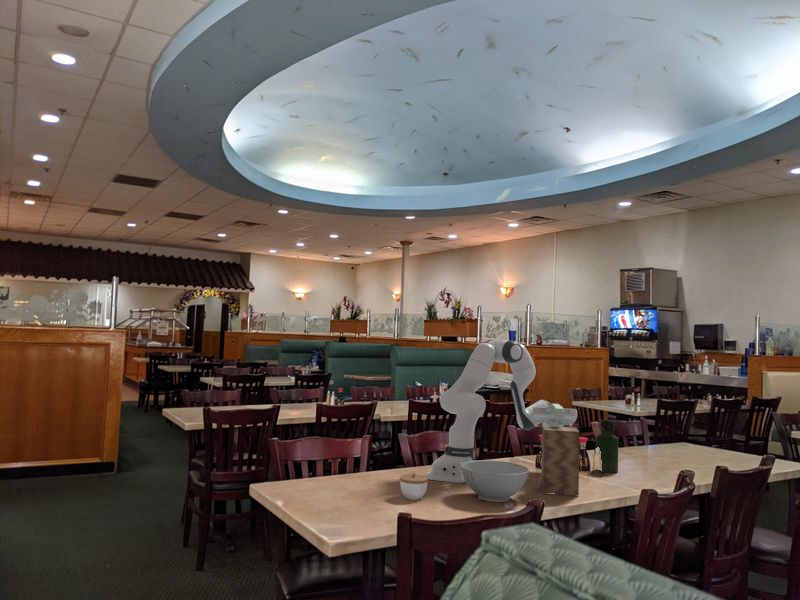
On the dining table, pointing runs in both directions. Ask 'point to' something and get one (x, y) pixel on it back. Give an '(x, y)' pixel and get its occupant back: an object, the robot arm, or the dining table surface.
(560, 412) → the sage block
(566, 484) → the wood grain block
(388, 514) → the dining table surface
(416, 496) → the lidded jar
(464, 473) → the decorative bowl
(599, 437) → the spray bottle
